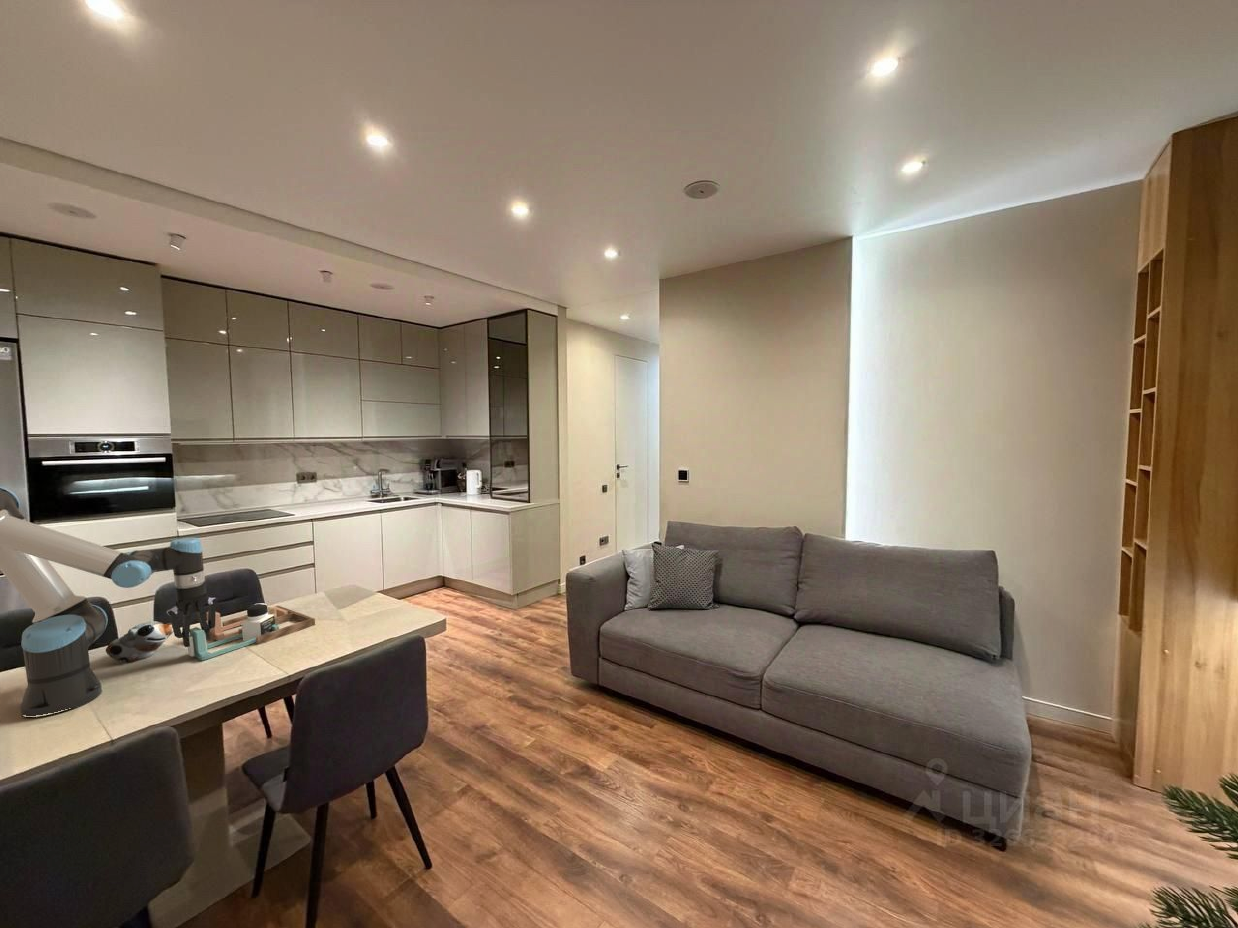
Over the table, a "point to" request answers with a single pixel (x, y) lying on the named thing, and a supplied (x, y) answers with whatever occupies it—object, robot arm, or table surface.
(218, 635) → the sled
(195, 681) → the table surface
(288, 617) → the lane rails
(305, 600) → the table surface
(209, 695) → the table surface
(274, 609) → the oak cube
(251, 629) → the medicine bottle
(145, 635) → the lucky cat figurine
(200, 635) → the frame
